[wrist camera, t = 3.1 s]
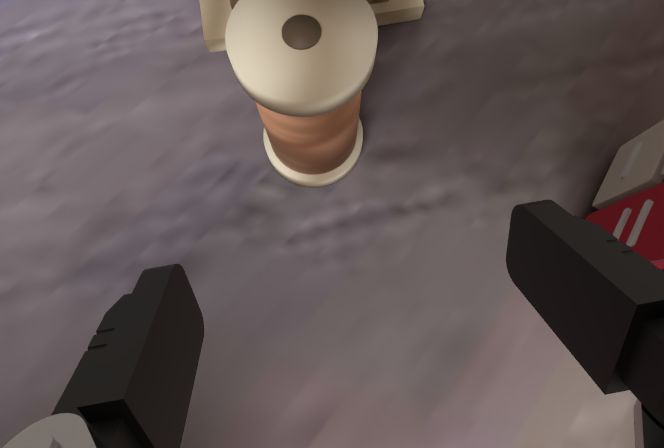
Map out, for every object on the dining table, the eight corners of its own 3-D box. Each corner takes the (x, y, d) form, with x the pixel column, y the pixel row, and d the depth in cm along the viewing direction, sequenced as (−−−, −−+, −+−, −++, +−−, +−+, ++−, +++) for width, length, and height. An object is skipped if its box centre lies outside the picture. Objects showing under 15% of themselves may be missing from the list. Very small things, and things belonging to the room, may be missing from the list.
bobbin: (274, 195, 25) (233, 111, 15) (260, 108, 26) (216, -19, 17) (370, 178, 25) (392, 85, 15) (351, 93, 27) (361, -42, 17)
